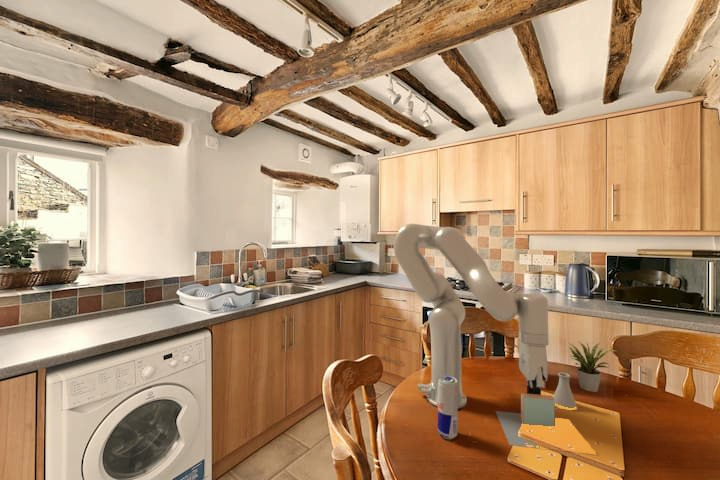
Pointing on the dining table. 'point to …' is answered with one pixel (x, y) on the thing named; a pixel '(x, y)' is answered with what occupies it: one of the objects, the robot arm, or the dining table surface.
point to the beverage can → (447, 407)
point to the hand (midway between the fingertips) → (533, 400)
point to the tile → (537, 409)
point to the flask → (564, 392)
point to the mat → (513, 428)
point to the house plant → (589, 367)
